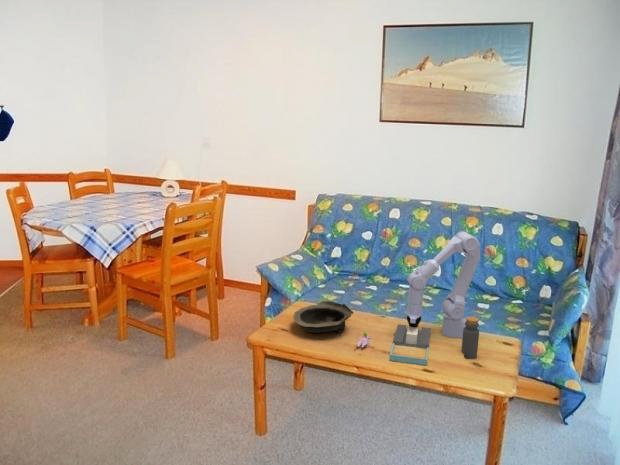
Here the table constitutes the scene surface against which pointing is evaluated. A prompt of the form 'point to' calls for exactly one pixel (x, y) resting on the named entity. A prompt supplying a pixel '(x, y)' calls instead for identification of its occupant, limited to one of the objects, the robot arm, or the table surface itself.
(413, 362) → the tray
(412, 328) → the cream cube block
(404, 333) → the slotted plate
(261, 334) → the table surface
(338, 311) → the stone bowl
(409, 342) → the beige cube
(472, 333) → the bottle
